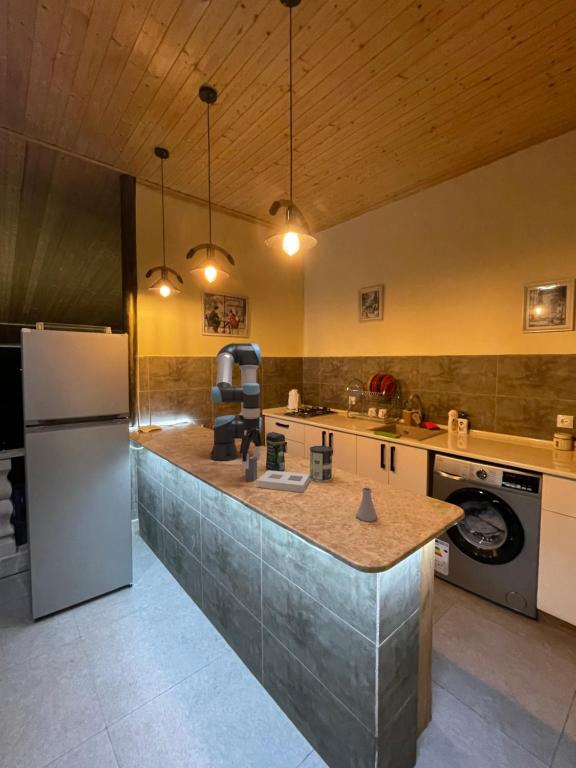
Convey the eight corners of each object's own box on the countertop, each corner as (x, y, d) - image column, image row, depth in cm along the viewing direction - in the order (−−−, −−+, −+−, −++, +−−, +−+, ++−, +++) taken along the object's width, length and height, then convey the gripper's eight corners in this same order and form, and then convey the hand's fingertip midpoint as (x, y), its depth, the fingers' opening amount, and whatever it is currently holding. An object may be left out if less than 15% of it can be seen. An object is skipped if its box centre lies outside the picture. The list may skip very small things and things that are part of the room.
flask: (361, 510, 118) (362, 483, 117) (380, 516, 113) (381, 488, 113) (351, 517, 112) (352, 489, 112) (371, 524, 108) (372, 494, 107)
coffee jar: (263, 468, 165) (263, 432, 164) (275, 465, 170) (275, 430, 169) (275, 473, 158) (275, 435, 157) (287, 470, 163) (287, 433, 162)
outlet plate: (268, 476, 153) (268, 469, 153) (309, 480, 148) (310, 473, 148) (257, 487, 140) (257, 479, 140) (302, 492, 134) (302, 484, 134)
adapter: (248, 477, 152) (248, 456, 151) (257, 478, 151) (256, 456, 150) (245, 480, 148) (245, 458, 147) (253, 481, 147) (253, 459, 146)
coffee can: (330, 474, 157) (331, 445, 156) (333, 482, 146) (333, 451, 146) (309, 474, 157) (309, 445, 156) (310, 482, 147) (310, 451, 146)
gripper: (248, 422, 134) (248, 473, 135) (268, 414, 158) (268, 457, 159) (231, 421, 136) (231, 471, 137) (253, 413, 160) (253, 456, 161)
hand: (251, 464), depth 148 cm, fingers open, 13 cm apart
